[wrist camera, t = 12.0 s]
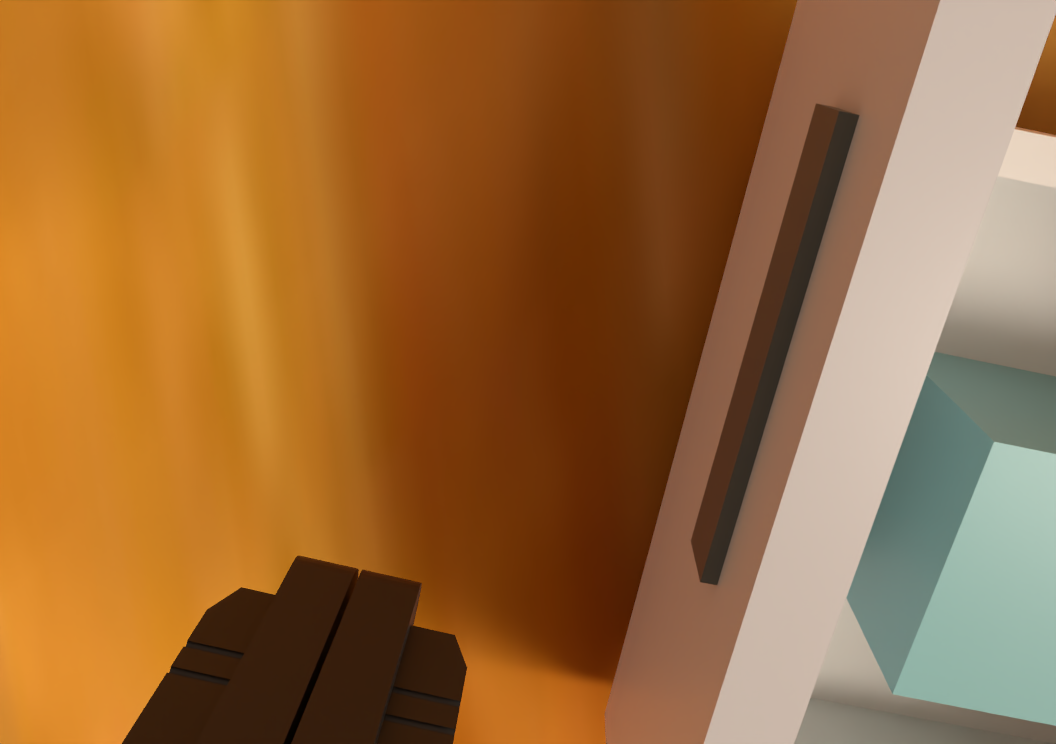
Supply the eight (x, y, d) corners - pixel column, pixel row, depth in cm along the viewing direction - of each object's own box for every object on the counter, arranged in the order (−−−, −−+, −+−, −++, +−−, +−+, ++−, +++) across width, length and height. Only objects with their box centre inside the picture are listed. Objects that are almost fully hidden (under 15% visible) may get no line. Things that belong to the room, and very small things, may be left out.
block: (822, 549, 22) (892, 694, 17) (894, 343, 20) (993, 441, 15) (1079, 600, 22) (1217, 757, 17) (1172, 400, 20) (1353, 514, 16)
